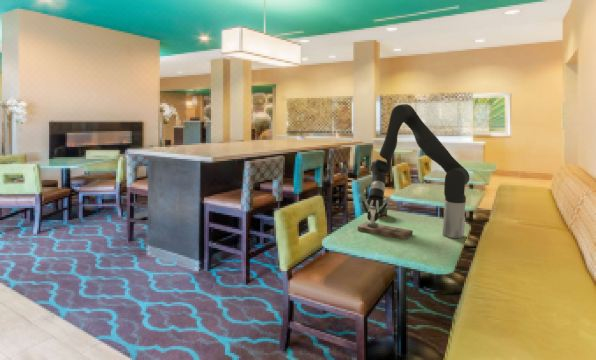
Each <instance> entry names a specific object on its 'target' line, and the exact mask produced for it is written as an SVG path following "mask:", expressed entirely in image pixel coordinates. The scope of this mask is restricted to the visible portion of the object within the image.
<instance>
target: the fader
mask: <svg viewBox="0 0 596 360" xmlns="http://www.w3.org/2000/svg"><path fill="white" fill-rule="evenodd" d="M370 209H371V216H370V220H369V223H368V224H367V226H371V227H376V226H378V224H379V223H378V222H376V221H375V214H376V209H377V207H376V206H370Z"/></svg>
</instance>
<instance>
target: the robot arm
mask: <svg viewBox="0 0 596 360" xmlns="http://www.w3.org/2000/svg"><path fill="white" fill-rule="evenodd" d="M403 123H404V124H405V125H406V126H407V127H408V128H409V129H410V130H411V132H412V134H413V136H414V138H415V142H416V144H417V146H418V148H419V149H420V150H421V151H422V152H423V153H424V154H425V155H426V156H427V157H428V159H431V160H432V161H433V162H435V164H437V165H439V166H440V167H441V169H443V171H444V172H445V176H444V190H443V191H444V192H443V193H444V210H443V221H442V222H443V223H442V236H444V237H447V238H449V239H463V237H464V236H465V226H466V216H465V213H466V202H467V200H466V199H467V197H466V194H465V188H466V187H465V186H466V185H467V184H468V183H469V181H470V173H469V171H468V169H466V168H465V167H464V166H462V164H460V163H459V162H458V160H457V159H455V158H454V157H453V156H452V154H451V153H450V152H449V151H448V149H447V148H446V147H445V145H443V143H442V142H441V141H440V140H439V139H438V137H437V136H436V135H435V134H434V133H433V132H432V130H431V129H430V128H429V127H428V125H426V124H425V123H424V122H423V120H422V119H421V117H420V116H419V114H418V113H417V112H416V110H415V109H414V108H413V107H412V105H410V104H407V103H405V104H396V105H395V106H394V107H393V108H392V110H391V112H390V116H389V122H388V125H387V130H386V134H385V138H384V140H383V143H382V145H381V148H380V150H379V156H380V157H381V158H382V159H385V160H382V159H378V158H376V159H374V160H373V161H372V162H371V166H370V168H371V173H372V174H371V175H372V179H371V183H370V189H369V193H368V199H367V200H366V201H364V200H363V201H362V202H361V204H362V207H363V209H364V210H363V211H364V212H365V214H367V216H366V218H367V221H370V216H371V209H370V206H376V207H377V209H376V214H375V222H377V221H378V220H379V217H378V216H379V214H383V213H384V211H385V210H386V209H387V207H388V208H389V203H388V204H387V203H384V202H383V197H385V191H386V190H385V189H386V188H385V185H386V180H387V179H386V178H387V177H386V175H388V174H390V172H391V169H392V159H393V156H394V153H395V151H396V149H397V145H398V135H399V131H400V129H401V127H402V125H403ZM382 205H383V207H382V209H381V210H380V211H379V208H380V207H381V206H382ZM367 206H368V208H367ZM387 210H388V209H387Z"/></svg>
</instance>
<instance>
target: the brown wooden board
mask: <svg viewBox="0 0 596 360" xmlns="http://www.w3.org/2000/svg"><path fill="white" fill-rule="evenodd" d="M368 223H370V221H369V222H367V221H365V222H364V223H362V224H359V225H357V231H358V232H359V231H360V232H363V233H369V234H374V235H378V236H379V235H380V236H384V237H390V238H393V239H394V238H395V239H399V240H404V241H405V240H408V239H409V238H410V237H412V235H413V233H414V232H413V230H411V229H405V228H401V227H400V228H399V227H396V226H391V225H384V224H379V223H378V226H376V227H371V226H367V224H368Z"/></svg>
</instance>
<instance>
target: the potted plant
mask: <svg viewBox="0 0 596 360" xmlns="http://www.w3.org/2000/svg"><path fill="white" fill-rule="evenodd" d="M383 202H384V203H387V204H388V205H389V204H390V199H389V198H388V197H387V196H384V197H383ZM382 207H383V205H382V206H381V207H380V208H379V211H380V210H381V209H382ZM388 208H389V206H388V207H387V209H386V210H385V211H384V213H383V214H379V216H378V218H384V216H385V217H387V216H388Z"/></svg>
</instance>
